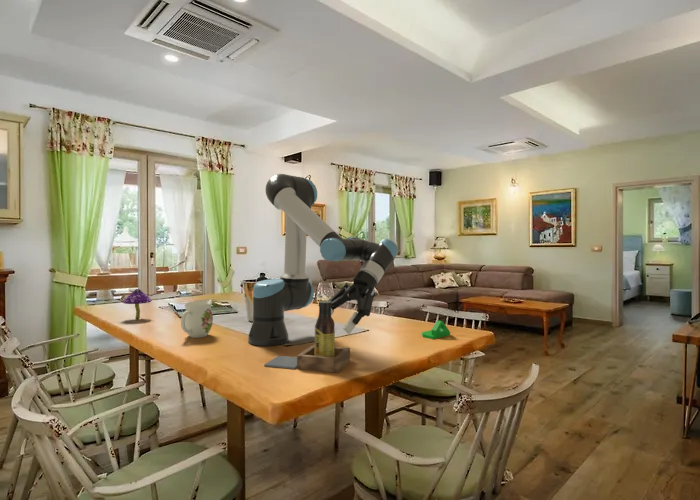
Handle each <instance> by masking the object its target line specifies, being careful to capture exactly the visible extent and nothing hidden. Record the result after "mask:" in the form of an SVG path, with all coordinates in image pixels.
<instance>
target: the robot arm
mask: <svg viewBox="0 0 700 500" xmlns="http://www.w3.org/2000/svg"><path fill="white" fill-rule="evenodd" d="M265 195H266V197H267V199H268V201H269V203H271V204H272V205H273V206H274V208H275V209H277V210H281V211H283V213H284V214H285V233H284V235H285V238H284V242H285V243H284V264H283V265H284V267H283V273H282V274H281V275H280V277H279V278H273V279H272V278H271V279H263V280H259V281H256V282H255V284H254V285H253V292H252V306H253V307H252V320H253V321H252V323H251V327H250V330H249V332H248V335H247V338H248V340H247V342H248V344H250V345H254V346H258V347H259V346H263V347H268V346H278V345H282V343H283V344H286V343H288V342H289V333H288V330H287V327H286V324H285V312H288V311H293V310H300V309H303V308H306V307H308V306H309V305H310V304H311V303H312V301H313V299H314V297H315V296H314V295H315V289H314V286H313V284H312V283H311V281H309V278H310V277H309V276H308V274H307V273H306V260H307V236H308V237H309V238H310V239H311V240H312V241H313V242H314V243H315V244H316V245H317V246H318V247H319V252H320V254H321V257H322V258H323V259H324V260H325V261H328V262H341V261H343V262H345V261H361V262H364V263H363V265H362V266H361V267H360V269H359V271H357V273H356V275H355V276H354V277H353V279H352V281H353V283H352V285H351V286H349V285H348V284H347V283H346V284H344V286H343V287H341V289H340V290H338V291H337V292H336V293H334V294H333V295H332V296H331V297H330V298H329V299H327V301H331V302H332V307H331V316H332V315H333V314H334V313H335V310H336V309H337V308H339V307H341V306H342V305H344V304H346V303H347V302H352V301H356V305H357V307H356V308H357V309H355V311H354V312H353V313H352V315H351V316H350V318H349V319H348V321H347V322H346V324H345V325H344V327H343V330H344V331H345V333H346V334H347V335H351V333H352V331H353V330H354V329H355V327H356V326H357V325H358V324H359V323H360V321H361V320H362V318H364V317H365V316H366V317H369V316H370V315H371V312H372V307H373V302H374V298H375V296H376V294H377V292H376V290H375V288H376V286H377V285H378V283H380V280H381V279H382V277H383V276H384V275H385V273H386V272H387V270H388V269H389V267H390V265H391V264H392V263H393V262H394V261H395V259H396V257H397V255H398V253H399V247H398V245H397V244H396V243H395V242H394V241H393V240H391V239H389V238H383V239H381V240H380V241H379V242H378V243H377V242H372V241H368V240H365V239H362V238H360V237H354V236H348V237H347V238H343V237H342V236H341V235H339V233H337V232H336V231H335V230H334V229H333V228H332V227H331V226H330V225H329V224H328V223H327V222H325V220H324V219H322V218H321V217H320V216H319V215H318V214H317V213H316V212H315V211H314V210H313V209H312V206H314V205H315V203H316V202H317V199H318V190H317V187H316V185H315V184H314V183H313V181H312V180H310V179H307V178H305V177H303V176H296V175H290V174H285V173H278V174H275V175H273V176H272V177H270V178H269V179H268V181H267V182H266V185H265ZM287 341H288V342H287ZM285 342H286V343H285Z"/></svg>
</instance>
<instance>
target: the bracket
mask: <svg viewBox="0 0 700 500" xmlns="http://www.w3.org/2000/svg"><path fill="white" fill-rule="evenodd" d="M448 336H451V331H450V330H449V328H448V327H447V326H446V324H445V322H444V321H443V320H436V321H435V323H434V325H433V326H432V328H431V329H429V330H426V331H421V337H422V338H426V339H430V340H436V339H439V338H443V337H448Z"/></svg>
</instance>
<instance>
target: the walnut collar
mask: <svg viewBox="0 0 700 500" xmlns="http://www.w3.org/2000/svg"><path fill="white" fill-rule="evenodd" d="M296 357H297V368H296V369H297V370H303V371H304V370H305V371H316V372H325V373H326V372H328V373H335V372H337V373H338V374H339V373H340V372H341V371H342V369H344V367H346V365H347V364H348V363H349V362H350V361H351V348H350V347H340V346H335V347H334V357H324V356H315V344H312V345H310V346H308V347H307V348H306V349H304V350H303V351H301V352H300V353H298V354H297V356H296ZM340 370H341V371H340ZM337 373H336V374H337Z"/></svg>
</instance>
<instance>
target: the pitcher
mask: <svg viewBox="0 0 700 500" xmlns="http://www.w3.org/2000/svg"><path fill="white" fill-rule="evenodd" d="M212 300H213V299H210V298H209V299H202V300H195V301H190V302H186V303H184V307H185V311H184V312H183V313H182V315H181V317H180V326H181V329H182V331H183V332H184V333H186V334H187V335H188V336H189V338H193V339H194V338H195V339H198V338H199V339H200V338H205V337H208V335H209V333H210V332H211V329H212V327H213V321H214V314H213V311H212V304H213V301H212Z"/></svg>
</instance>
